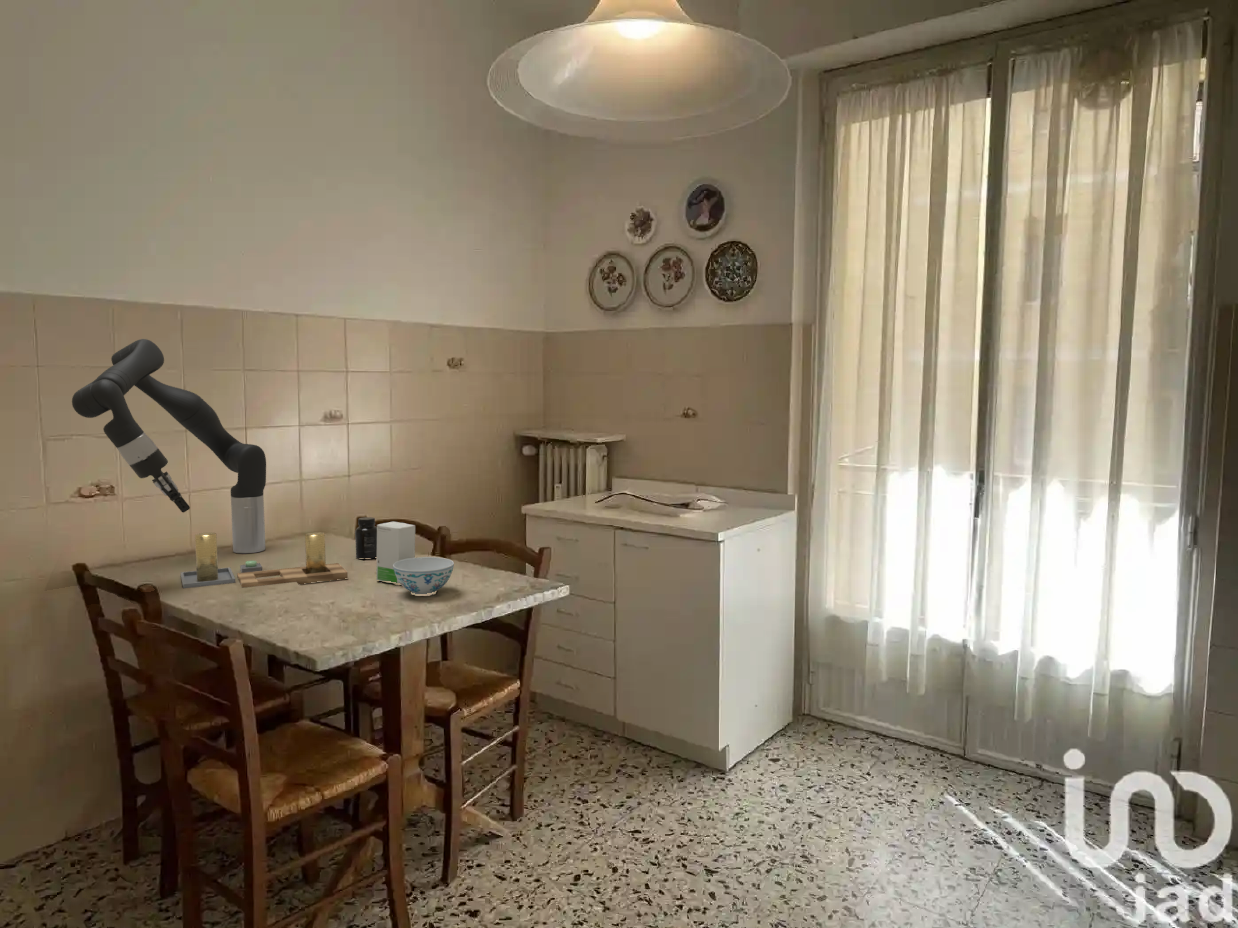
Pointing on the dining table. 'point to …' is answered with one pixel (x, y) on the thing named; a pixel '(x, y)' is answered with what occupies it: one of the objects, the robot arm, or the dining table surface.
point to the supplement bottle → (366, 538)
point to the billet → (206, 557)
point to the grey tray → (191, 581)
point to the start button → (251, 563)
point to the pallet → (291, 576)
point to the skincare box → (393, 548)
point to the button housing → (250, 568)
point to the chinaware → (423, 573)
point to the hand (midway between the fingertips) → (186, 510)
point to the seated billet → (315, 552)
